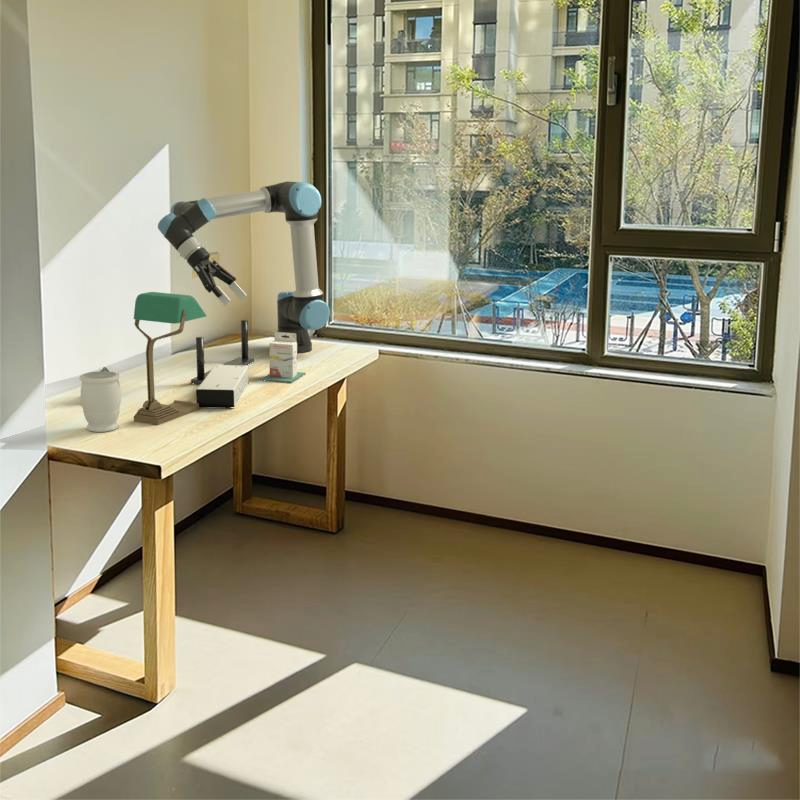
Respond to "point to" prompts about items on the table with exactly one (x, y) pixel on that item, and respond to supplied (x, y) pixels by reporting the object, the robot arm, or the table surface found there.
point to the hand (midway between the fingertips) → (236, 300)
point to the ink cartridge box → (283, 355)
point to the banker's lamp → (165, 311)
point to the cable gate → (237, 361)
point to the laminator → (223, 386)
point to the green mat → (283, 378)
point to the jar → (100, 400)
